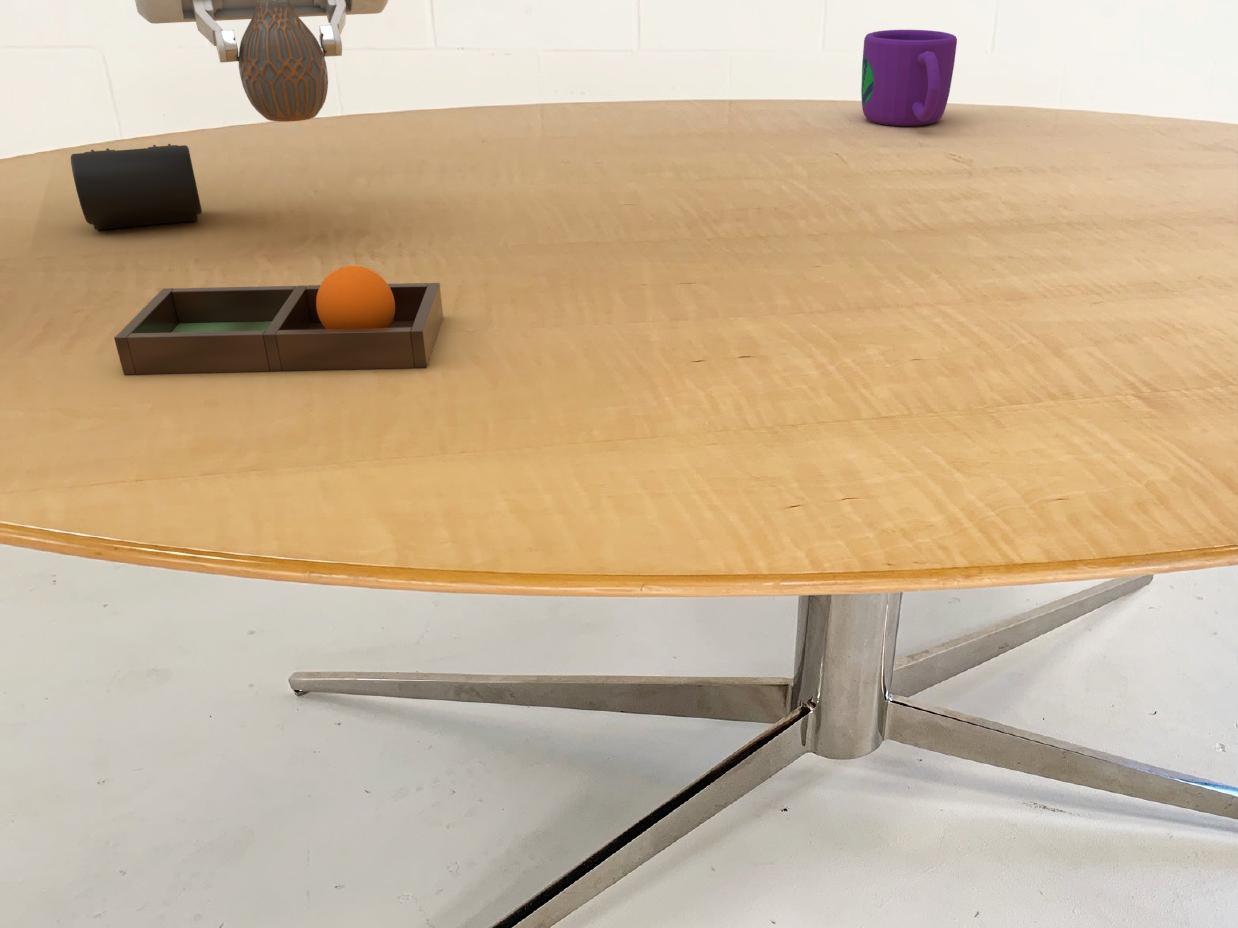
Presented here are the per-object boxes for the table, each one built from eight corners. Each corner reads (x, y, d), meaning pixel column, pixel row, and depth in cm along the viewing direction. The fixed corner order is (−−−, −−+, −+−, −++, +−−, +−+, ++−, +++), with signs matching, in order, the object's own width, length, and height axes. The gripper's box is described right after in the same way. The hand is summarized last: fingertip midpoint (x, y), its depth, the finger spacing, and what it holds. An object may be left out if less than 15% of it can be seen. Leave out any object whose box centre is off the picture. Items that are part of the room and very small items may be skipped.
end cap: (89, 239, 105) (68, 160, 102) (91, 220, 111) (71, 145, 107) (205, 228, 108) (189, 151, 105) (201, 210, 114) (186, 136, 110)
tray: (125, 383, 76) (113, 337, 74) (172, 330, 85) (162, 288, 83) (428, 376, 77) (422, 331, 75) (444, 324, 85) (439, 282, 84)
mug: (848, 113, 155) (854, 30, 149) (931, 111, 156) (940, 28, 150) (884, 139, 140) (892, 48, 135) (975, 137, 141) (987, 46, 136)
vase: (240, 114, 99) (219, -2, 94) (322, 108, 101) (305, -6, 97) (257, 128, 93) (235, 5, 89) (342, 120, 96) (326, 1, 91)
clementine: (315, 356, 78) (303, 280, 76) (330, 330, 83) (318, 257, 80) (394, 355, 79) (383, 278, 76) (404, 328, 83) (395, 255, 80)
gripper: (369, -63, 103) (406, 72, 100) (121, -57, 96) (154, 88, 94) (372, -122, 97) (411, 20, 95) (108, -120, 90) (143, 33, 88)
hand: (281, 54), depth 94 cm, fingers closed on vase, 7 cm apart
